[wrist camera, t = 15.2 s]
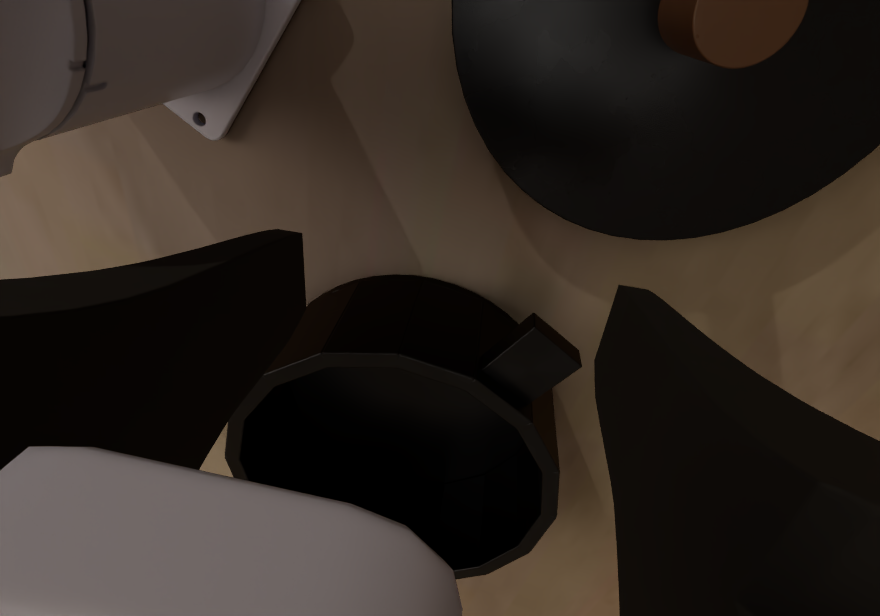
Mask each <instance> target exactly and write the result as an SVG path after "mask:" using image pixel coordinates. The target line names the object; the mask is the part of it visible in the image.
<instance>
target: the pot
mask: <svg viewBox="0 0 880 616" xmlns="http://www.w3.org/2000/svg"><path fill="white" fill-rule="evenodd" d="M581 367H582V364H581V358H580V353H579V350H578V349H577V348H576V347H574V346H573V345H572V344H571V343H570V342H569V341H567V340H566V339H565V338H564V337H563V336H561V335H560V334H559V333H558V332H557V331H555V330H554V329H553V328H552V327H551V326H549V325H548V324H547V323H546V322H545V321H543V320H542V319H541V318H540V317H539V316H538V315H536V314H535V313H532V314H531V315H530V316H529V317H528V318H526V319H525V320H524V321H523V322H521V323H520V324H518V323H517V322H516V321H515V320H513V319H512V318H511V317H510V316H509V315H508V314H507V313H506V312H504V311H503V310H502V309H500V308H499V307H497V306H496V305H495V304H493V303H492V302H490V301H489V300H487V299H485V298H483V297H481V296H480V295H478V294H476V293H474V292H472V291H469V290H467V289H465V288H462V287H460V286H457V285H455V284H451V283H448V282H444V281H441V280H437V279H433V278H426V277H420V276H413V275H383V276H373V277H368V278H363V279H358V280H354V281H351V282H349V283H346V284H343V285H340V286H337V287H336V288H334V289H332V290H330V291H328V292H326V293H324V294H322V295H321V296H320V297H318V298H317V299H315V300H314V301H312V302H310V303H309V304H308V306H307V307H306V310H305V312H304V314H303V316H302V318H301V320H300V322H299V324H298V326H297V328H296V329H295V331H294V333H293V335H292V336H291V338H290V340H289V341H288V343H287V344H286V346H285V347H284V348H283V350H282V351H281V352H280V354H279V355H278V356H277V358H276V359H275V360H274V361H273V363H272V364H271V365H270V367H269V368H268V369H267V371H266V372H265V373H264V374H263V376H262V377H261V378H260V380H259V381H258V382H257V383H256V385H255V386H254V387H253V389H252V390H251V391H250V392H249V394H248V395H247V396H246V398H245V399H244V400H243V401H242V403H241V404H240V405H239V407H238V408H237V409H236V411H235V412H234V414H233V415H232V416H231V418H230V419H229V421H228V429H227V438H226V448H225V459H226V461H227V464H228V466H229V468H230V470H231V472H232V475H233V477H234V478H237V479H242V480H246V481H251V482H255V483H260V484H264V485H269V486H274V487H278V488H283V489H287V490H292V491H296V492H301V493H305V494H310V495H315V496H319V497H324V498H328V499H333V500H337V501H342V502H346V503H351V504H353V505H356V506H358V507H361V508H363V509H366V510H368V511H371V512H373V513H376V514H378V515H381V516H383V517H386V518H388V519H391V520H393V521H396V522H398V523H401V524H403V525H406V526H407V527H408V528H409V529H411V530H412V531H413V532H414V533H415V534H416V535H417V536H418V537H419V538H420V539H421V540H423V541H424V542H425V543H426V544H427V545H428V546H429V547H430V548H431V549H432V550H433V551H435V552H436V553H437V554H438V555H439V556H440V557H441V558H442V559H443V560H444V561H445V562H446V563H447V564H448V565H449V566H450V568H451V569H452V570H453V572H454V576H455V579H461V578H468V577H474V576H480V575H486V574H489V573H491V572H493V571H495V570H497V569H499V568H501V567H503V566H505V565H507V564H509V563H511V562H512V561H514V560H516V559H518V558H520V557H522V556H524V555H526V554H528V553H529V552H531V550H532V549H533V548H534V546H535V545H536V544H537V542H538V541H539V540H540V539H541V537H542V536H543V535H544V533H545V532H546V531H547V529H548V528H549V527H550V525H551V524H552V523H553V521H554V520H555V519H556V517H557V510H558V493H559V477H560V469H559V458H558V448H557V437H556V427H555V416H554V405H553V395H552V388H553V387H554V386H555V385H557V384H558V383H560V382H561V381H562V380H564V379H565V378H567V377H568V376H570V375H571V374H572V373H574V372H575V371H577V370H578V369H579V368H581Z"/></svg>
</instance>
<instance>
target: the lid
mask: <svg viewBox="0 0 880 616" xmlns="http://www.w3.org/2000/svg"><path fill="white" fill-rule="evenodd" d="M452 36H453V44H454V52H455V59H456V67H457V71H458V75H459V79H460V83H461V87H462V91H463V95H464V98H465V101H466V103H467V106H468V109H469V111H470V114H471V116H472V119H473V121H474V124H475V126H476V128H477V130H478V132H479V133H480V135H481V137H482V139H483V141H484V143H485V144H486V146H487V148H488V150H489V151H490V153H491V154H492V155H493V157H494V158H495V160H496V161H497V162H498V164H499V165H500V166H501V168H502V169H503V170H504V172H505V173H506V174H507V175H508V176H509V177H510V178H511V179H512V180H513V181H514V182H515V183H516V184H517V185H518V186H519V187H520V188H521V189H522V190H523V191H524V192H525V193H526V194H528V195H529V196H530V197H531V198H533V199H534V200H535V201H536V202H538V203H539V204H540V205H542V206H543V207H545V208H546V209H548V210H550V211H551V212H553V213H555V214H556V215H558V216H560V217H562V218H563V219H565V220H568V221H570V222H572V223H575V224H577V225H579V226H582V227H584V228H587V229H589V230H593V231H597V232H600V233H604V234H608V235H611V236H617V237H624V238H631V239H638V240H676V239H687V238H696V237H701V236H706V235H711V234H716V233H721V232H725V231H729V230H732V229H735V228H738V227H742V226H745V225H748V224H751V223H754V222H757V221H759V220H761V219H764V218H766V217H769V216H771V215H773V214H776V213H778V212H780V211H783V210H785V209H787V208H789V207H790V206H792V205H794V204H796V203H798V202H800V201H802V200H803V199H805V198H807V197H809V196H811V195H813V194H814V193H816V192H817V191H819V190H820V189H822V188H824V187H825V186H827V185H828V184H830V183H831V182H833V181H834V180H836V179H837V178H839V177H840V176H842V175H843V174H845V173H846V172H847V171H848V170H850V169H851V168H852V167H853V166H855V165H856V164H857V163H858V162H860V161H861V160H862V159H863V158H865V157H866V156H867V155H868V154H870V153H871V152H872V151H873V150H874V149H875V148H876V147H878V146H879V145H880V0H452Z"/></svg>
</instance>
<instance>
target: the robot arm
mask: <svg viewBox="0 0 880 616" xmlns="http://www.w3.org/2000/svg"><path fill="white" fill-rule="evenodd" d="M300 1H301V0H0V177H2V176H4V175H7V174H10V173H11V172H12V168H13V162H14V159H15V157H16V155H17V153H18V152H19V151H20V150H21V149H22V148H23V147H24V146H25V145H27V144H29V143H31V142H33V141H35V140H40V139H43V138H47V137H50V136H54V135H57V134H60V133H64V132H67V131H71V130H74V129H77V128H81V127H84V126H88V125H91V124H94V123H98V122H101V121H105V120H108V119H111V118H115V117H118V116H122V115H125V114H128V113H132V112H135V111H139V110H142V109H145V108H149V107H152V106H156V105H159V104H164V105H165V106H166V107H167V108H169V109H170V110H171V111H173V112H174V113H175V114H176V115H178V116H179V117H180V118H181V119H183V120H184V121H185V122H187V123H188V124H189V125H190V126H192V127H193V128H194V129H196V130H197V131H198V132H199V133H201V134H202V135H203V136H205V137H206V138H208V139H209V140H213V141H216V140H220V139H222V138H223V137H224V136H225V135H226V134H227V132H228V130H229V128H230V127H231V125H232V123H233V121H234V119H235V118H236V116H237V114H238V112H239V111H240V109H241V107H242V105H243V103H244V102H245V100H246V98H247V96H248V94H249V93H250V91H251V89H252V87H253V86H254V84H255V82H256V80H257V78H258V77H259V75H260V73H261V71H262V69H263V68H264V66H265V64H266V62H267V60H268V59H269V57H270V55H271V53H272V52H273V50H274V48H275V46H276V44H277V43H278V41H279V39H280V37H281V35H282V34H283V32H284V30H285V28H286V27H287V25H288V23H289V21H290V19H291V18H292V16H293V14H294V12H295V10H296V9H297V7H298V5H299V3H300ZM199 113H201V114H203V115H204V117H205V119H206V124H204V123H202V122H201V121H200V120H199V117H198V114H199ZM305 310H306V295H305V276H304V258H303V239H302V233H298V232H292V231H286V230H279V229H274V230H266V231H261V232H257V233H253V234H249V235H245V236H241V237H238V238H234V239H230V240H227V241H223V242H220V243H216V244H212V245H209V246H205V247H202V248H198V249H194V250H190V251H186V252H182V253H178V254H174V255H170V256H166V257H162V258H158V259H154V260H150V261H145V262H140V263H135V264H130V265H125V266H119V267H113V268H107V269H101V270H94V271H87V272H78V273H69V274H60V275H51V276H42V277H33V278H20V279H4V280H0V616H462V605H461V600H460V596H459V592H458V588H457V584H456V580H455V576H454V572H453V570H452V569H451V568H450V566H449V565H448V564H447V563H446V562H445V561H444V560H443V559H442V558H441V557H440V556H439V555H438V554H437V553H436V552H435V551H433V550H432V549H431V548H430V547H429V546H428V545H427V544H426V543H425V542H424V541H423V540H421V539H420V538H419V537H418V536H417V535H416V534H415V533H414V532H413V531H412V530H411V529H409V528H408V527H407V526H406V525H403V524H401V523H398V522H396V521H393V520H391V519H388V518H386V517H383V516H381V515H378V514H376V513H373V512H371V511H368V510H366V509H363V508H361V507H358V506H356V505H353V504H351V503H346V502H342V501H337V500H333V499H328V498H324V497H319V496H315V495H310V494H305V493H301V492H296V491H292V490H287V489H283V488H278V487H274V486H269V485H264V484H260V483H255V482H251V481H246V480H242V479H237V478H233V477H228V476H223V475H219V474H214V473H210V472H205V471H201V470H199V469H200V467H201V465H202V463H203V462H204V460H205V458H206V457H207V455H208V453H209V452H210V450H211V448H212V447H213V445H214V443H215V442H216V440H217V438H218V437H219V435H220V433H221V432H222V430H223V428H224V427H225V425H226V424H227V422H228V421H229V419H230V418H231V416H232V415H233V414H234V412H235V411H236V409H237V408H238V407H239V405H240V404H241V403H242V401H243V400H244V399H245V398H246V396H247V395H248V394H249V392H250V391H251V390H252V389H253V387H254V386H255V385H256V383H257V382H258V381H259V380H260V378H261V377H262V376H263V374H264V373H265V372H266V371H267V369H268V368H269V367H270V365H271V364H272V363H273V361H274V360H275V359H276V358H277V356H278V355H279V354H280V352H281V351H282V350H283V348H284V347H285V346H286V344H287V343H288V341H289V340H290V338H291V336H292V335H293V333H294V331H295V329H296V328H297V326H298V324H299V322H300V320H301V318H302V316H303V314H304V312H305ZM594 363H595V398H596V404H597V410H598V415H599V421H600V427H601V432H602V437H603V443H604V448H605V453H606V459H607V464H608V469H609V475H610V480H611V486H612V493H613V501H614V512H615V527H616V541H617V559H618V581H619V605H620V616H880V441H878V440H876V439H874V438H872V437H870V436H868V435H866V434H864V433H861V432H859V431H857V430H855V429H854V428H852V427H850V426H848V425H846V424H844V423H842V422H840V421H838V420H836V419H834V418H832V417H831V416H829V415H827V414H825V413H823V412H821V411H819V410H817V409H815V408H814V407H812V406H810V405H808V404H807V403H805V402H803V401H801V400H799V399H798V398H796V397H794V396H793V395H791V394H789V393H788V392H786V391H785V390H783V389H781V388H780V387H778V386H777V385H775V384H773V383H772V382H770V381H768V380H767V379H765V378H764V377H762V376H761V375H759V374H758V373H756V372H755V371H753V370H752V369H750V368H749V367H747V366H746V365H745V364H743V363H742V362H740V361H739V360H738V359H736V358H735V357H734V356H732V355H731V354H729V353H728V352H727V351H725V350H724V349H723V348H721V347H720V346H719V345H717V344H716V343H715V342H714V341H712V340H711V339H710V338H708V337H707V336H706V335H705V334H703V333H702V332H701V331H700V330H699V329H697V328H696V327H695V326H694V325H692V324H691V323H690V322H689V321H688V320H686V319H685V318H684V317H683V316H682V315H680V314H679V313H678V312H677V311H676V310H674V309H673V308H672V307H671V306H670V305H668V304H667V303H666V302H665V301H663V300H662V299H661V298H660V297H658V296H657V295H656V294H654V293H653V292H651V291H649V290H647V289H641V288H635V287H629V286H623V285H619V286H618V289H617V292H616V295H615V298H614V302H613V305H612V308H611V311H610V314H609V317H608V320H607V323H606V326H605V329H604V332H603V336H602V339H601V342H600V345H599V348H598V351H597V354H596V357H595V360H594Z"/></svg>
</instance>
